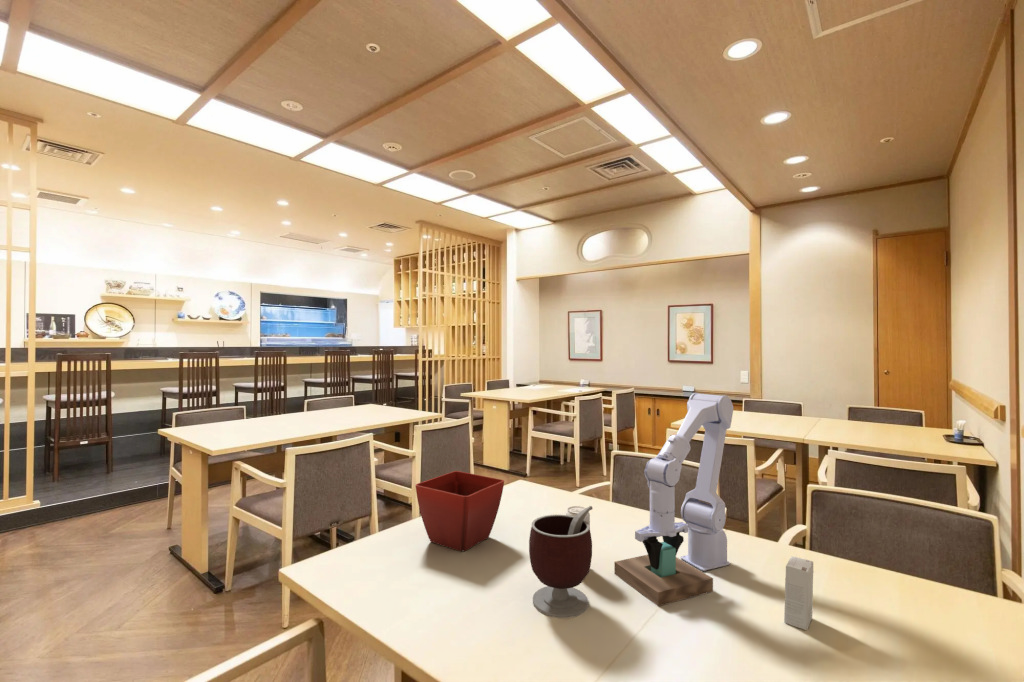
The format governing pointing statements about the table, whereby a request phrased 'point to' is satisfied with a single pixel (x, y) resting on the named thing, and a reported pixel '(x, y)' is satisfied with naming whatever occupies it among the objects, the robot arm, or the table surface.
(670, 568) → the teal peg
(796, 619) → the skincare box
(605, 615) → the table surface
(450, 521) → the plant pot
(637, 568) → the holder block
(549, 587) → the mate gourd
